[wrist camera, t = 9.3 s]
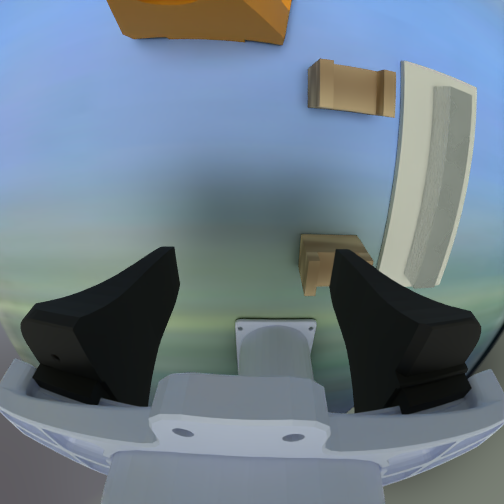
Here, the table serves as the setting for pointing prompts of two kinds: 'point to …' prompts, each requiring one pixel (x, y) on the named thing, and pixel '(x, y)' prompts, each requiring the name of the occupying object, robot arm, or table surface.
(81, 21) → the table surface
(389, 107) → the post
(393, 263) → the mat
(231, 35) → the bracket
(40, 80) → the table surface
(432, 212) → the rail
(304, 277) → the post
